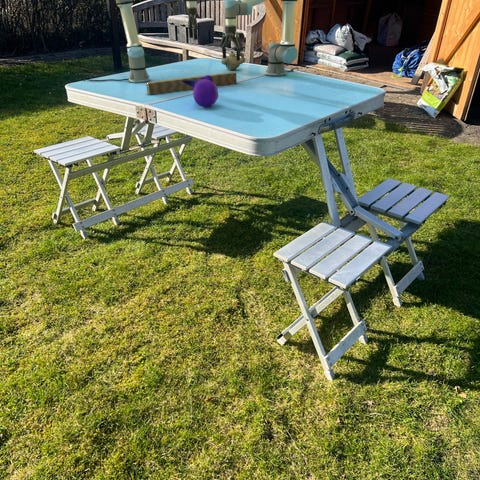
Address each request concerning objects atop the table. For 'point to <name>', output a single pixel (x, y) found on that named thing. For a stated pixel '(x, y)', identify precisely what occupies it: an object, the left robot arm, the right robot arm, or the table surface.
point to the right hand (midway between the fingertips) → (231, 59)
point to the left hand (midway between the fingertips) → (193, 38)
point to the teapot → (232, 61)
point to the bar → (178, 85)
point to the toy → (204, 91)
